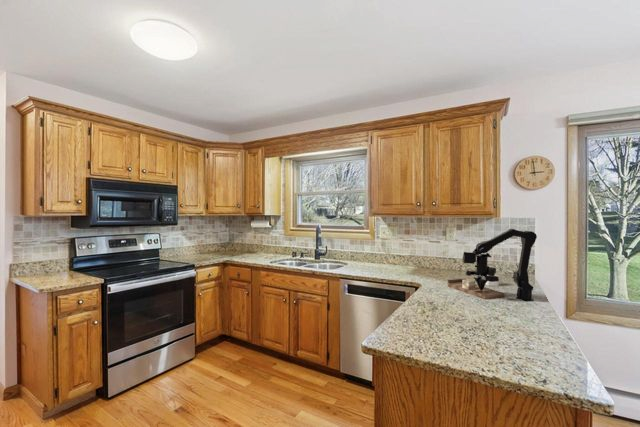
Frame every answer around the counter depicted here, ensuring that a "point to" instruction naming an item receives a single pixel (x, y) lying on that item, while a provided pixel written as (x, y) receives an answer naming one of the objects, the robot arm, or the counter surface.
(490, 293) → the trap deck
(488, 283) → the medicine bottle
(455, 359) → the counter surface
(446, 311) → the counter surface
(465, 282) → the maple cube
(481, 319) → the counter surface
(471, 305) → the counter surface
